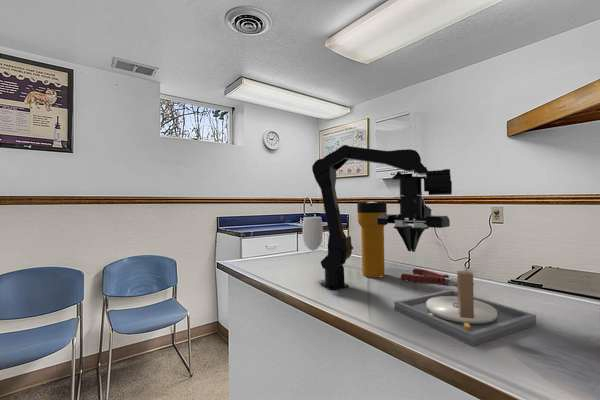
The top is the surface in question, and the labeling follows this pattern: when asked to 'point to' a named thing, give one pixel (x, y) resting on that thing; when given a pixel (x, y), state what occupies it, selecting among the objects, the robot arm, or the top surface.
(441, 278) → the pliers
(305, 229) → the grey rounded cylinder
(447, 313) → the dial
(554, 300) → the top surface
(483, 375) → the top surface
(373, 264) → the flashlight
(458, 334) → the dial board
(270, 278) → the top surface
